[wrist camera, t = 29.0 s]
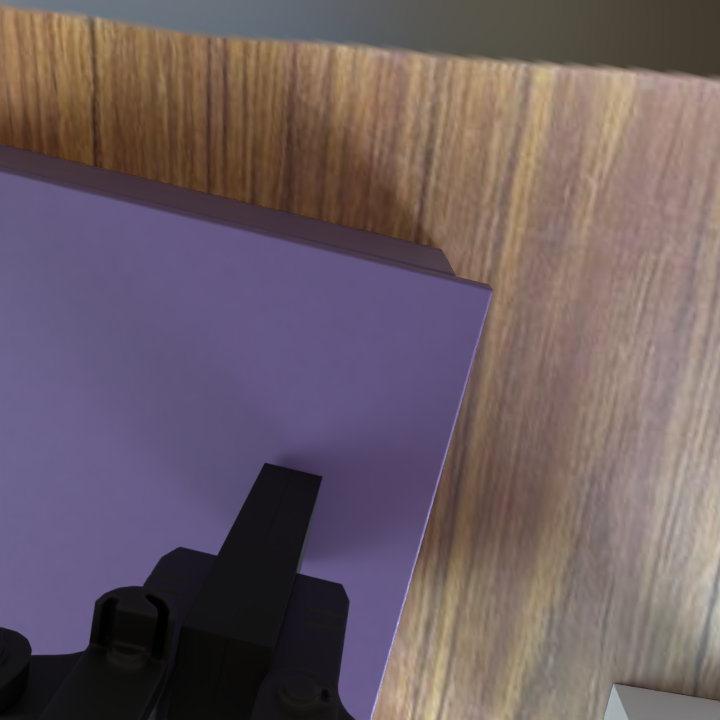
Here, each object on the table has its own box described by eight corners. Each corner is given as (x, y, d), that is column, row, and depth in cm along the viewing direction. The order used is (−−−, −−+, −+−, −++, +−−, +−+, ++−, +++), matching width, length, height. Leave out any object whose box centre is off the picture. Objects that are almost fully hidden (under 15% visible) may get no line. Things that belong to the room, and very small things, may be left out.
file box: (442, 249, 24) (456, 274, 17) (354, 587, 27) (338, 716, 20) (-53, 130, 24) (-230, 110, 17) (-77, 482, 27) (-231, 578, 21)
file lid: (490, 284, 16) (493, 289, 16) (363, 735, 20) (361, 757, 19) (-232, 109, 17) (-263, 106, 16) (-232, 579, 20) (-258, 594, 20)
